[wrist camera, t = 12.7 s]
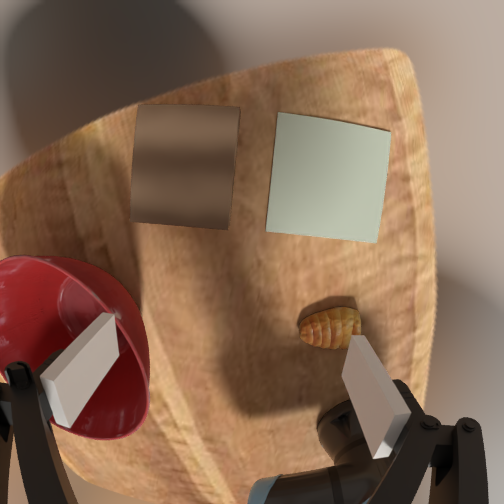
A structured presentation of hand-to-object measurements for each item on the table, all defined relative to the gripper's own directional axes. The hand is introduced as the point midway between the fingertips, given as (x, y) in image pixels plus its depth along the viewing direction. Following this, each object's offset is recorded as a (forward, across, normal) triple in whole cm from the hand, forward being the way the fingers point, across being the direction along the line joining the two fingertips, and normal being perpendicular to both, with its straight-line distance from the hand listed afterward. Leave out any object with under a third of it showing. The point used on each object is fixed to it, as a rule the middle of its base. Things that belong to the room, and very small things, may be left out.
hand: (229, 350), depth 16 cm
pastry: (+28, -14, +12) cm, 34 cm away
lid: (+21, +7, -10) cm, 24 cm away
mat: (+27, -11, -10) cm, 31 cm away
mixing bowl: (+28, +24, +14) cm, 39 cm away
